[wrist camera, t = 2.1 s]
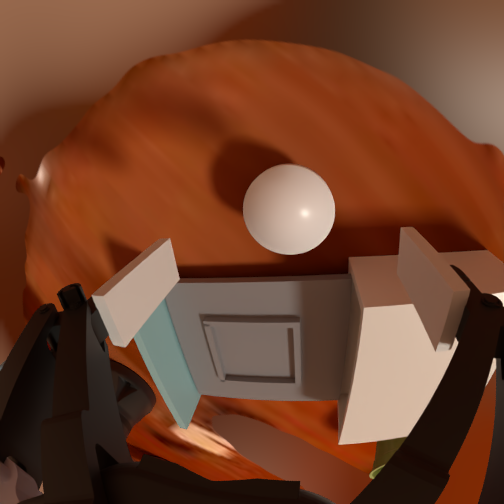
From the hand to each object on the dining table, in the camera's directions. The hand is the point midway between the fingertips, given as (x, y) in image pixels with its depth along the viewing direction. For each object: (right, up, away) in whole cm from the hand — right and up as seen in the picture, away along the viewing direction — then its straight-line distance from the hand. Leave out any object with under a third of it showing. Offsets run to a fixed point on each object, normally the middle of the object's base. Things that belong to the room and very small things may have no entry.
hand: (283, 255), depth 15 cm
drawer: (-1, -12, +22) cm, 25 cm away
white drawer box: (+20, -11, +17) cm, 29 cm away
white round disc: (+2, +4, +11) cm, 12 cm away
